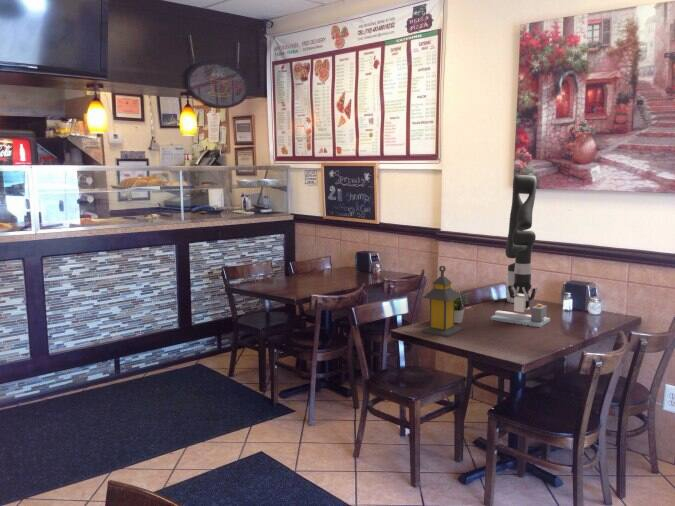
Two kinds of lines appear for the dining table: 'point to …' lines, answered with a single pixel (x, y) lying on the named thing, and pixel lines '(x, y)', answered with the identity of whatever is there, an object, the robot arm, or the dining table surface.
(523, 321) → the rail board
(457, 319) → the house plant
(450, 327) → the lantern
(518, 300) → the din module
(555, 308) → the dining table surface
